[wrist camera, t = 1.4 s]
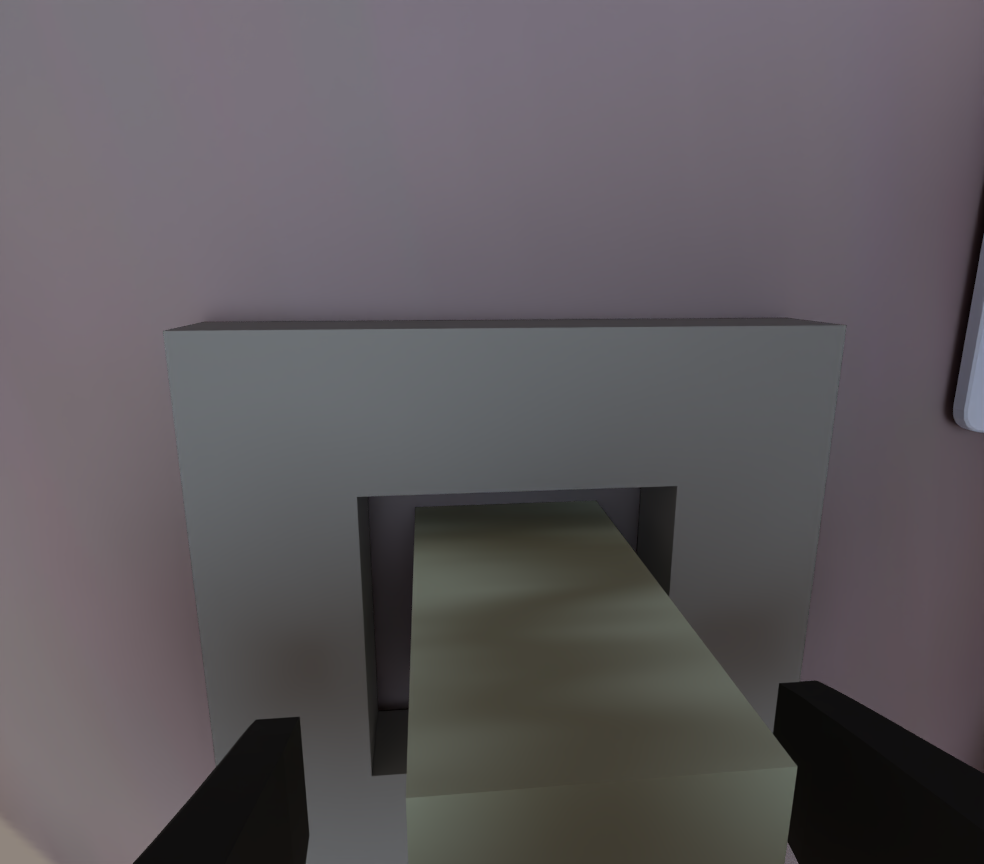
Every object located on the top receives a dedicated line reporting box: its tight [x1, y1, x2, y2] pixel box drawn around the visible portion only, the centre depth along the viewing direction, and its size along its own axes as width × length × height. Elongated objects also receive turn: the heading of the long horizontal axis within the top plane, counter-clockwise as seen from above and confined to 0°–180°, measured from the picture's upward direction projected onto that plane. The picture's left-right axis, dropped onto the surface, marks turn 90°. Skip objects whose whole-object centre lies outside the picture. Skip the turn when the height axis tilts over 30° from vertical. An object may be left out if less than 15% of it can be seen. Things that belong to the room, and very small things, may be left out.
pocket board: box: [163, 318, 847, 864], centre depth 14 cm, size 12×12×2 cm
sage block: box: [406, 501, 797, 864], centre depth 11 cm, size 4×4×8 cm
